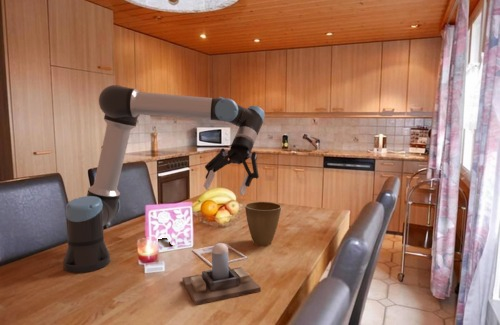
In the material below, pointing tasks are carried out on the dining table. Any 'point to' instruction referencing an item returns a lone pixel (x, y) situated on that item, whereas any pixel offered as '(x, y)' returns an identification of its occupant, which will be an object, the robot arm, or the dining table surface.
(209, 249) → the photo frame
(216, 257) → the grey cylinder bottle
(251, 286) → the jig board
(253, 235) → the plant pot
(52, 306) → the dining table surface
